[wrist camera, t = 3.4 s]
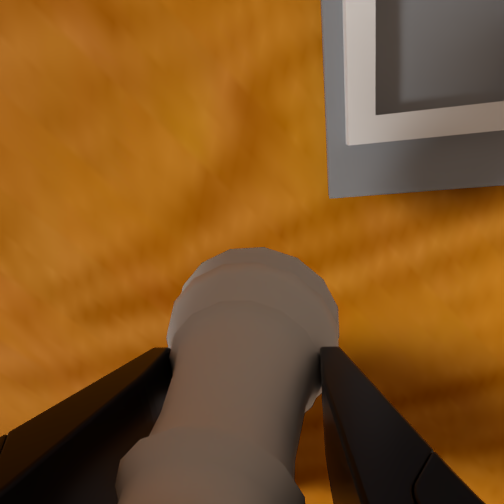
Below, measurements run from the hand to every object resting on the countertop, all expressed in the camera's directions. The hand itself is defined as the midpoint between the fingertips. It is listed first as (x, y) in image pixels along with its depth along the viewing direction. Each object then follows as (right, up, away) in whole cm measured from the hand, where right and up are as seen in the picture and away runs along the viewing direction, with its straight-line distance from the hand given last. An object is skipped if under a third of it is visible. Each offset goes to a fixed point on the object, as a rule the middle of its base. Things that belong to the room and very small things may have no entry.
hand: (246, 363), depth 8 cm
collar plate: (+8, +11, +6) cm, 15 cm away
